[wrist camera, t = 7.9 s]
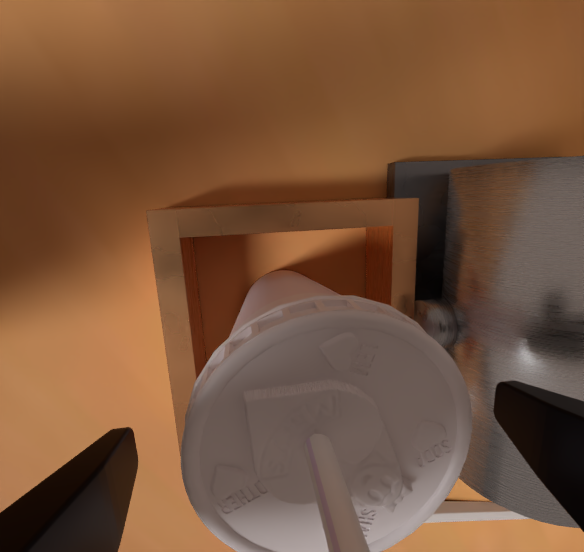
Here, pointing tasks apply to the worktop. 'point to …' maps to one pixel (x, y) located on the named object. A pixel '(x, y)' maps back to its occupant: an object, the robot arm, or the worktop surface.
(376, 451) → the white cup with straw
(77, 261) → the worktop surface
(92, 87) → the worktop surface
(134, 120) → the worktop surface
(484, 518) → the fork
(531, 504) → the motor unit
